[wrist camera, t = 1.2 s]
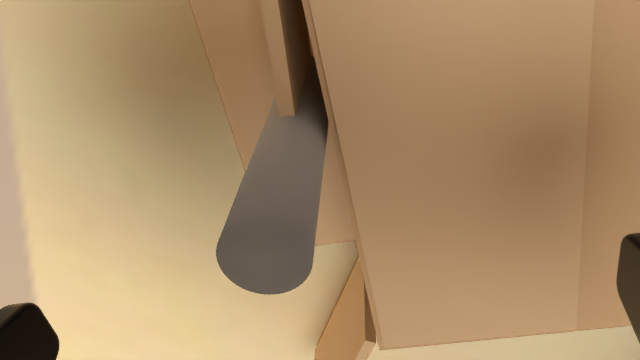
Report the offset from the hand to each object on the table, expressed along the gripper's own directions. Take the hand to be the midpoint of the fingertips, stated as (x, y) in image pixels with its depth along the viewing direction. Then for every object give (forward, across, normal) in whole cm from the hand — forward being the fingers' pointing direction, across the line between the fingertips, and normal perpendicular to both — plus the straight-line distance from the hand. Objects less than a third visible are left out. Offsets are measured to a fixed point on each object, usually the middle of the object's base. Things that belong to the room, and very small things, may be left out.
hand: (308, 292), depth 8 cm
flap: (+11, +1, -2) cm, 12 cm away
